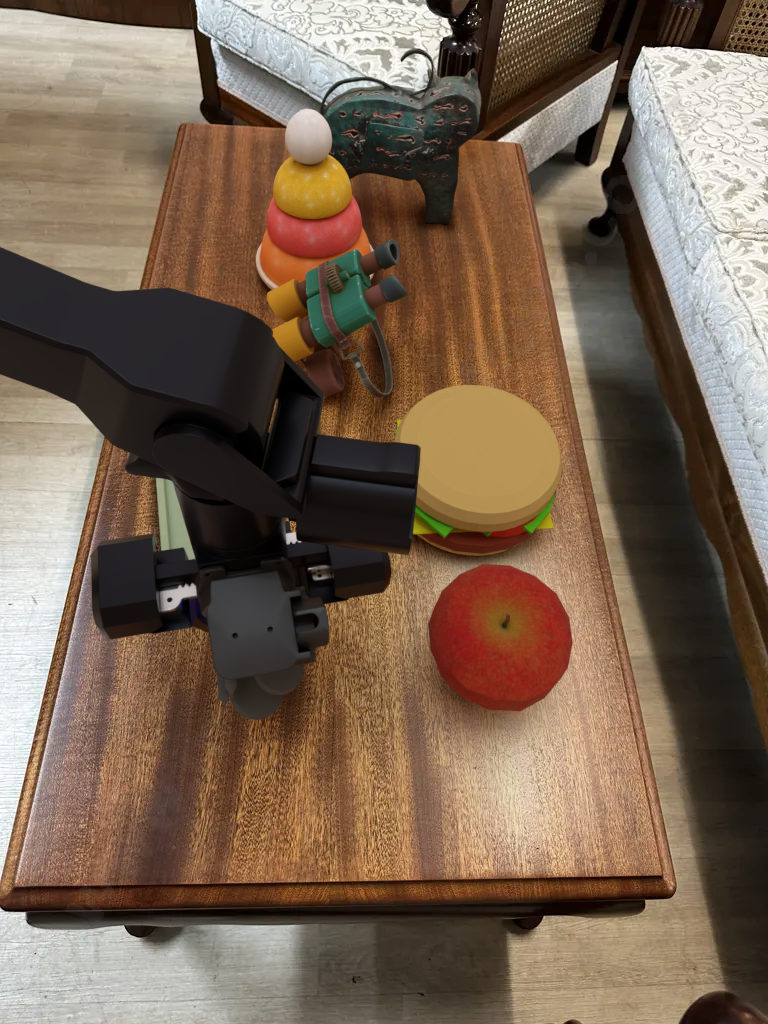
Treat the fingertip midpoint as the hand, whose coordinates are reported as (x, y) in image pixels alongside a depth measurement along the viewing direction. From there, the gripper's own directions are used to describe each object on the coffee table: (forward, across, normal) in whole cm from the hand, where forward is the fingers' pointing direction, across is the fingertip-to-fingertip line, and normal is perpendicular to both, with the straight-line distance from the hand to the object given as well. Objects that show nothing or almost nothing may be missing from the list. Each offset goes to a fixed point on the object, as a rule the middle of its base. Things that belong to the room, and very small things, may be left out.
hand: (254, 618), depth 54 cm
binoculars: (+8, +12, +31) cm, 34 cm away
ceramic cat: (+8, +24, +57) cm, 62 cm away
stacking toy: (+8, +13, +47) cm, 49 cm away
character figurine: (+2, 0, 0) cm, 2 cm away
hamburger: (+8, +22, +13) cm, 27 cm away
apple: (+8, +18, -5) cm, 20 cm away
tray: (+8, -2, +16) cm, 18 cm away
